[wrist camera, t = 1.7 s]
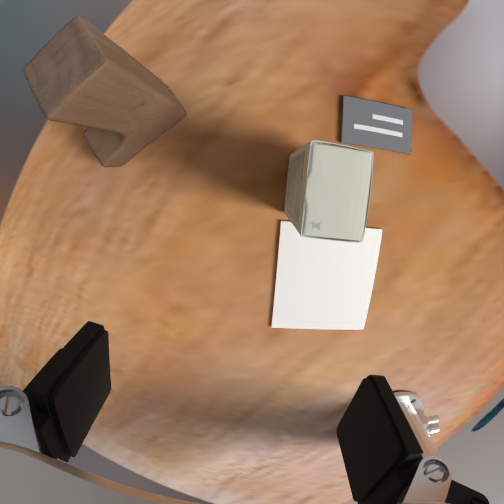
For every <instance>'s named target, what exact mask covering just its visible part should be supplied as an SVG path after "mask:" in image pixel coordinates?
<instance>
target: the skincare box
mask: <svg viewBox="0 0 504 504" xmlns="http://www.w3.org/2000/svg"><path fill="white" fill-rule="evenodd" d="M373 155H374V154H373V152H372V151H368V150H364V149H360V148H356V147H351V146H347V145H342V144H336V143H331V142H325V141H319V140H312V141H310V142H309V143H307V144H306V145H304V146H303V147H301V148H299V149H298V150H296V151H295V152H293V153H292V154H290V158H289V166H288V174H287V185H286V195H285V209H284V213H285V214H286V216H287V217H288V218H289V220H290V221H291V223H292V224H293V225H294V227H295V228H296V230H297V231H298V232H299V234H300V235H301V236H302V237H308V238H315V239H323V240H332V241H342V242H356V243H361V242H362V241H363V237H364V233H365V228H366V222H367V217H368V210H369V202H370V194H371V184H372V171H373Z"/></svg>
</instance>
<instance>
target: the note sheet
mask: <svg viewBox="0 0 504 504" xmlns="http://www.w3.org/2000/svg"><path fill="white" fill-rule="evenodd" d="M381 236H382V229H376V228H365V233H364V237H363V241H362V242H361V243H356V242H342V241H332V240H323V239H315V238H308V237H302V236H301V235H300V234H299V232H298V231H297V230H296V228H295V227H294V225H293V224H292V223H291V221H281V225H280V238H279V250H278V261H277V272H276V283H275V294H274V305H273V315H272V325H271V328H296V329H364V325H365V321H366V316H367V312H368V307H369V303H370V298H371V293H372V288H373V283H374V278H375V272H376V267H377V261H378V255H379V249H380V243H381Z"/></svg>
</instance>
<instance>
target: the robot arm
mask: <svg viewBox="0 0 504 504" xmlns="http://www.w3.org/2000/svg"><path fill="white" fill-rule="evenodd" d="M110 390H111V378H110V364H109V342H108V331H106V330H104V326H103V325H100V324H97V323H94V322H90V321H88V322H87V323H86V324H85V325H84V326H83V327H82V328H81V329H80V330H79V331H78V332H77V334H76V335H75V336H74V337H73V338H72V339H71V340H70V341H69V342H68V343H67V344H66V346H65V347H64V348H62V349H60V350H58V351H57V352H56V354H55V355H54V356H53V357H52V358H51V359H50V360H49V361H48V362H47V364H46V365H45V366H44V367H43V368H42V369H41V370H40V372H39V373H38V374H37V375H36V376H35V377H34V378H33V380H32V381H31V382H30V383H29V384H28V385H27V387H26V388H25V389H24V390H23V391H22V390H20V389H19V388H16V387H13V386H5V387H0V504H198V503H193V502H188V501H183V500H177V499H173V498H168V497H164V496H160V495H156V494H152V493H149V492H145V491H142V490H138V489H135V488H131V487H128V486H125V485H122V484H119V483H116V482H113V481H110V480H107V479H104V478H101V477H98V476H96V475H93V474H90V473H88V472H85V471H83V470H80V469H78V468H75V467H73V466H70V465H68V464H66V463H63V462H61V461H58V460H56V459H57V458H59V459H61V460H63V461H65V462H68V461H69V459H70V457H71V456H72V457H75V456H76V454H77V453H78V450H79V449H80V447H81V445H82V443H83V441H84V439H85V437H86V435H87V434H88V432H89V430H90V428H91V426H92V424H93V422H94V420H95V419H96V417H97V415H98V413H99V411H100V410H101V408H102V406H103V404H104V402H105V400H106V399H107V397H108V395H109V393H110ZM423 412H424V405H423V402H422V401H421V399H420V398H419V396H418V395H416V394H414V393H411V392H403V391H402V392H395V393H393V391H392V389H391V388H390V386H389V384H388V382H387V380H386V378H385V377H384V376H379V375H369V376H368V377H367V378H365V379H363V380H362V382H361V384H360V386H359V388H358V390H357V392H356V394H355V396H354V397H353V399H352V401H351V403H350V405H349V407H348V409H347V410H346V412H345V414H344V416H343V417H342V419H341V421H340V423H339V424H338V427H337V437H338V440H339V444H340V448H341V452H342V456H343V460H344V464H345V468H346V472H347V476H348V480H349V484H350V488H351V492H352V496H353V499H354V501H357V502H358V504H489V501H488V499H487V498H486V497H485V496H484V495H483V494H481V493H479V492H477V491H475V490H473V489H470V488H468V487H466V486H464V485H462V484H460V483H457V482H455V481H453V480H452V469H451V467H450V465H449V464H448V463H447V462H446V461H445V460H443V459H441V457H440V456H439V453H438V451H437V449H436V447H435V446H434V444H433V442H432V440H431V438H430V436H429V435H433V434H437V433H438V432H439V425H438V424H437V423H438V421H439V417H438V416H437V415H435V416H430V417H426V416H425V415H424V414H423Z"/></svg>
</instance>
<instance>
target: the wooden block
mask: <svg viewBox="0 0 504 504" xmlns="http://www.w3.org/2000/svg"><path fill="white" fill-rule="evenodd" d="M24 74H25V77H26V79H27V81H28V83H29V86H30V88H31V90H32V92H33V94H34V96H35V98H36V100H37V102H38V104H39V106H40V108H41V110H42V112H43V114H44V116H45V117H46V118H47V119H48V120H50V121H57V122H63V123H70V124H76V125H82V126H87V127H88V128H87V129H86V130H85V132H84V133H83V135H84V137H85V139H86V141H87V142H88V144H89V146H90V147H91V149H92V151H93V152H94V154H95V155H96V157H97V159H98V160H99V162H100V163H101V165H102V166H103V167H118V166H123V165H124V164H125V163H126V162H128V161H129V160H130V159H131V158H132V157H134V156H135V155H136V154H137V153H138V152H140V151H141V150H142V149H143V148H145V147H146V146H147V145H148V144H150V143H151V142H152V141H153V140H155V139H156V138H157V137H159V136H160V135H161V134H162V133H164V132H165V131H166V130H168V129H169V128H170V127H172V126H173V125H174V124H176V123H177V122H178V121H180V120H181V119H183V118H184V117H185V116H186V111H185V110H184V108H183V107H182V106H181V104H180V103H179V101H178V100H177V99H176V97H175V96H174V94H173V93H172V92H171V90H170V89H169V87H168V86H167V85H166V84H165V83H164V82H162V81H161V80H160V79H159V78H158V77H156V76H155V75H154V74H153V73H152V72H150V71H149V70H148V69H147V68H146V67H144V66H143V65H142V64H141V63H139V62H138V61H137V60H136V59H135V58H133V57H132V56H131V55H130V54H128V53H127V52H126V51H125V50H123V49H122V48H121V47H119V46H118V45H117V44H116V43H114V42H113V41H112V40H110V39H109V38H108V37H107V36H105V35H104V34H103V33H101V32H100V31H99V30H97V29H96V28H95V27H93V26H92V25H91V24H89V23H88V22H87V21H85V20H84V19H82V18H79V17H76V18H74V19H72V20H71V21H70V22H69V23H68V24H66V25H65V26H64V27H63V28H62V29H61V30H60V31H59V32H58V33H57V34H56V35H55V36H54V37H53V38H52V39H51V40H50V41H49V42H48V43H47V44H46V45H45V46H44V47H43V48H42V49H41V50H40V51H39V52H38V53H37V54H36V55H35V57H34V58H33V59H32V60H31V61H30V62H29V63H28V64H27V65H26V67H25V69H24Z"/></svg>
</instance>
